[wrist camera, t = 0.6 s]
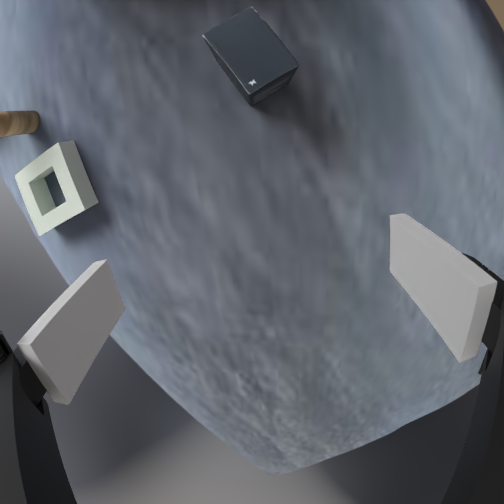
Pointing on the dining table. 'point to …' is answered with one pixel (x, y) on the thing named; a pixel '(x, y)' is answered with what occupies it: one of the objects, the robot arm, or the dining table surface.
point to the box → (251, 55)
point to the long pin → (18, 122)
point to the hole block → (71, 182)
